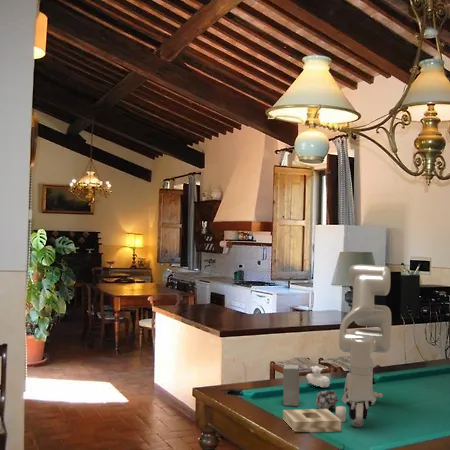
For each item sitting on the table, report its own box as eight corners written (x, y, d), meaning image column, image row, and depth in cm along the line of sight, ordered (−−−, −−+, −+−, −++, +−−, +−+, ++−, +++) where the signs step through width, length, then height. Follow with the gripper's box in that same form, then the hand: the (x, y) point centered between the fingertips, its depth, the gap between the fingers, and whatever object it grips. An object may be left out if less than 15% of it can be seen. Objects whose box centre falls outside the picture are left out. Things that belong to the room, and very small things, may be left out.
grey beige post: (360, 423, 224) (361, 400, 224) (364, 427, 220) (365, 403, 220) (350, 423, 223) (351, 400, 223) (355, 427, 219) (355, 403, 219)
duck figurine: (305, 389, 278) (299, 373, 272) (311, 377, 283) (305, 361, 277) (328, 394, 271) (322, 377, 266) (334, 381, 276) (328, 365, 270)
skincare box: (298, 407, 242) (299, 369, 242) (281, 405, 243) (282, 367, 244) (299, 401, 250) (301, 364, 250) (283, 399, 252) (284, 363, 252)
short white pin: (343, 418, 229) (343, 405, 229) (347, 421, 225) (347, 409, 225) (333, 418, 229) (334, 406, 229) (337, 422, 225) (338, 409, 225)
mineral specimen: (322, 407, 231) (326, 383, 236) (306, 409, 238) (310, 386, 243) (343, 418, 236) (346, 394, 241) (326, 420, 242) (330, 397, 248)
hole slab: (326, 418, 228) (327, 408, 228) (340, 431, 214) (341, 420, 214) (282, 420, 224) (283, 409, 224) (294, 433, 211) (294, 422, 211)
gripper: (375, 367, 226) (373, 414, 226) (335, 368, 223) (333, 416, 223) (384, 372, 219) (382, 421, 219) (343, 373, 216) (341, 422, 216)
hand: (357, 418), depth 221 cm, fingers closed on grey beige post, 4 cm apart
